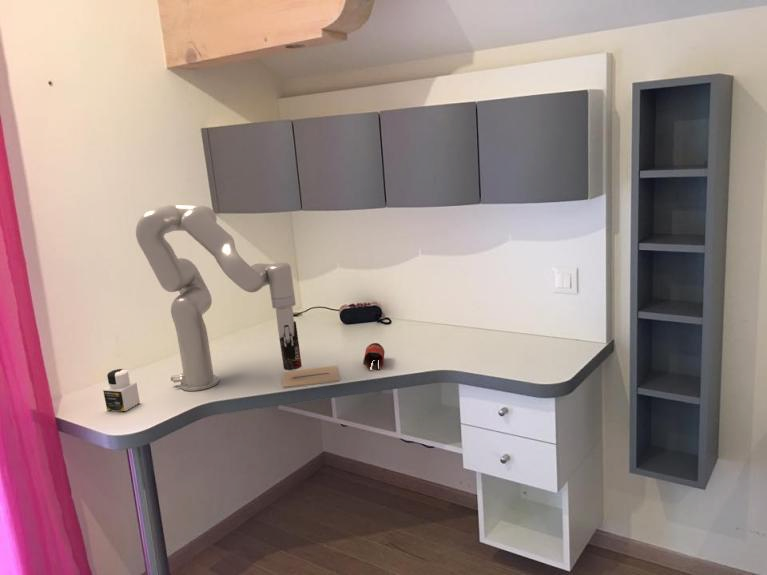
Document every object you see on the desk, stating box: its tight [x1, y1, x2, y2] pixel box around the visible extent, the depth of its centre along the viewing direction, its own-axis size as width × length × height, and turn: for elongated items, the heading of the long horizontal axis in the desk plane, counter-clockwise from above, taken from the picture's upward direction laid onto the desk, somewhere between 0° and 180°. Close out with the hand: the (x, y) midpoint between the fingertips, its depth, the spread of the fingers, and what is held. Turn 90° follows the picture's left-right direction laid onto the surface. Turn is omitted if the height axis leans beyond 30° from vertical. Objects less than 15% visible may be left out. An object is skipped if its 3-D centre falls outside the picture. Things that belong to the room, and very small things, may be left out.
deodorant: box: [277, 320, 302, 371], centre depth 213 cm, size 6×6×15 cm
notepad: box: [282, 365, 340, 389], centre depth 217 cm, size 18×14×1 cm
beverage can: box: [362, 342, 385, 371], centre depth 223 cm, size 7×12×7 cm, turn 178°
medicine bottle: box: [102, 368, 141, 412], centre depth 204 cm, size 7×7×12 cm
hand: (290, 353), depth 214 cm, fingers closed on deodorant, 5 cm apart
